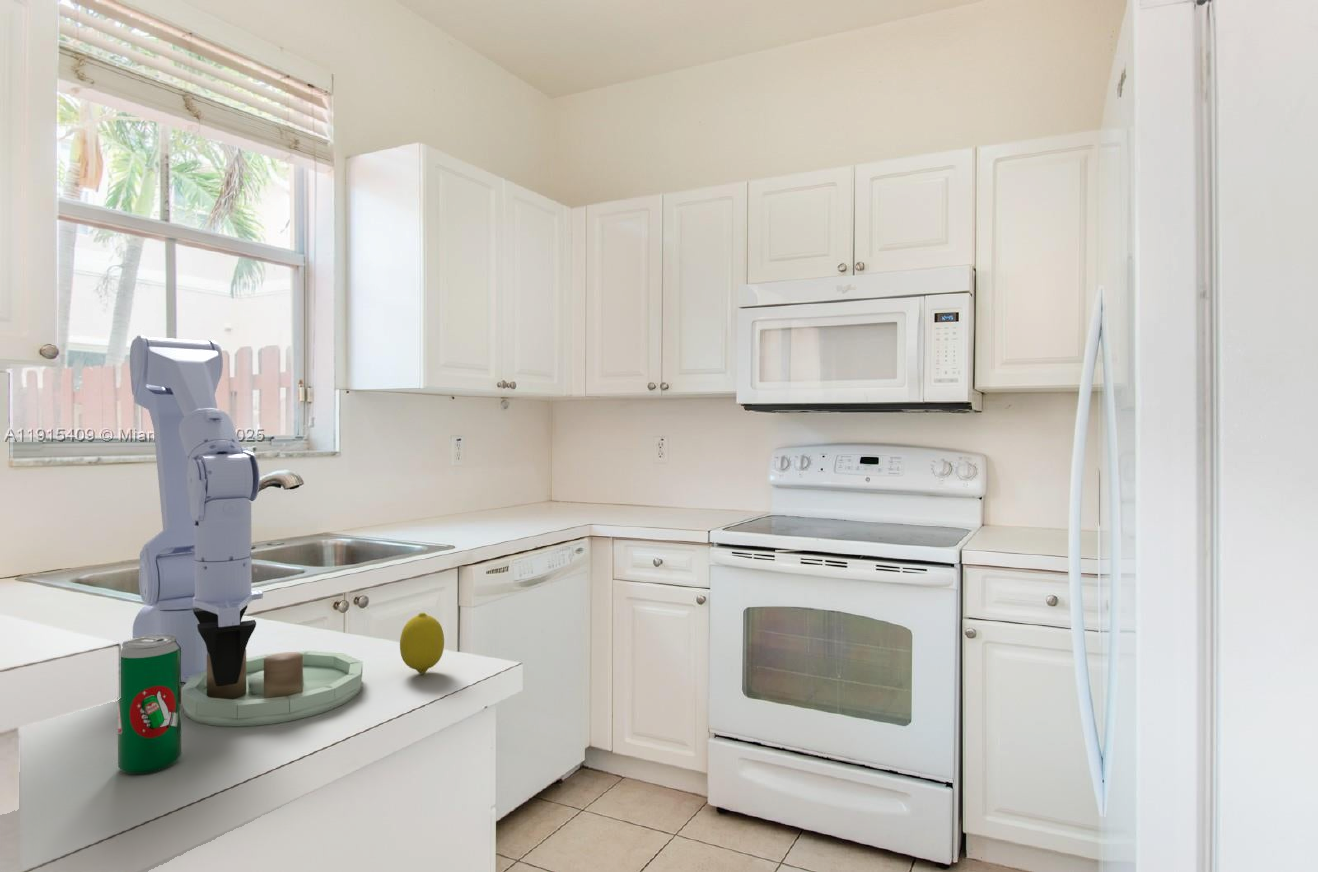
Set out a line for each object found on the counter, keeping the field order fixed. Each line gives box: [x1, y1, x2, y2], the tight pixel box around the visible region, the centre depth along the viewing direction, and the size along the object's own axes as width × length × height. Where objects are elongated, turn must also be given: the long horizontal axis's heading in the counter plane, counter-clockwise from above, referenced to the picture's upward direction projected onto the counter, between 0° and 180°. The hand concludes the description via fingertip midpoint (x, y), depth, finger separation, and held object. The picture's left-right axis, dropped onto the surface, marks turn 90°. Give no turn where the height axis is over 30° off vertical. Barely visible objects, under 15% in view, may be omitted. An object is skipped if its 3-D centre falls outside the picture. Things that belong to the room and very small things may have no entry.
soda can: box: [117, 634, 182, 776], centre depth 74 cm, size 5×5×12 cm
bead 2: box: [264, 651, 303, 699], centre depth 88 cm, size 4×4×5 cm
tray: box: [181, 650, 363, 727], centre depth 93 cm, size 19×19×2 cm
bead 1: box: [207, 649, 247, 700], centre depth 90 cm, size 4×4×5 cm
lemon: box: [399, 612, 445, 675], centre depth 101 cm, size 6×6×8 cm
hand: (223, 674), depth 89 cm, fingers open, 7 cm apart
